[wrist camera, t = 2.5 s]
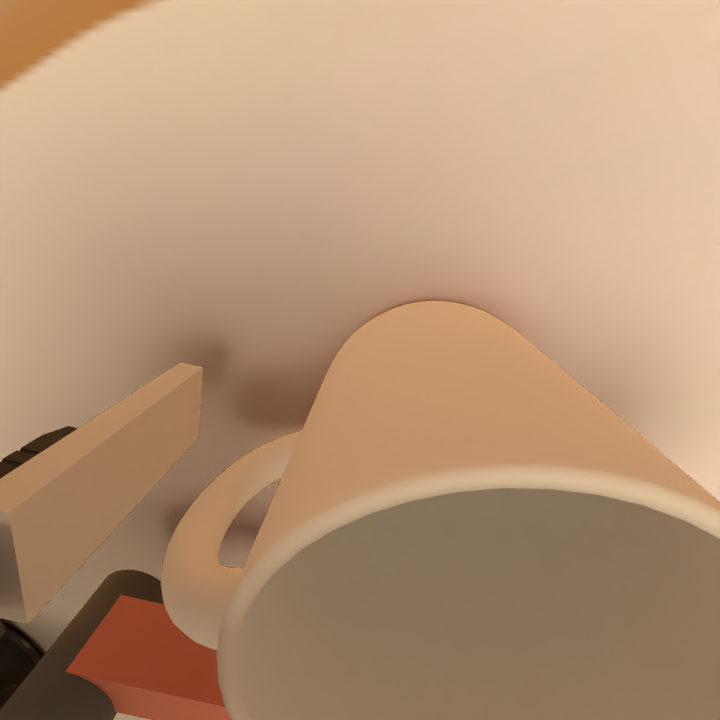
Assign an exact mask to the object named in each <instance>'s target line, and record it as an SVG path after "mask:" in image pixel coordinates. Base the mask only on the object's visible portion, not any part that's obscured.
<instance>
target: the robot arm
mask: <svg viewBox="0 0 720 720" xmlns="http://www.w3.org/2000/svg"><path fill="white" fill-rule="evenodd" d="M202 375H203V367H199V366H195V365H190V364H186V363H182V362H180V363H179V364H177V365H175V366H174V367H172V368H171V369H169V370H168V371H166V372H165V373H163V374H161V375H160V376H158V377H157V378H155V379H154V380H152V381H151V382H149V383H148V384H146V385H144V386H143V387H141V388H140V389H138V390H137V391H135V392H134V393H132V394H131V395H129V396H127V397H126V398H124V399H123V400H121V401H120V402H118V403H117V404H115V405H114V406H112V407H110V408H109V409H107V410H106V411H104V412H103V413H101V414H100V415H98V416H97V417H95V418H93V419H92V420H90V421H89V422H87V423H86V424H84V425H83V426H81V427H79V428H74V427H70V426H67V427H64V428H61V429H59V430H56V431H53V432H50V433H47V434H44V435H42V436H40V437H38V438H37V439H35V440H33V441H32V442H30V443H28V444H27V445H25V446H23V447H22V448H21V450H20V451H15V452H13V453H12V454H10V455H8V456H7V457H5V458H3V460H2V462H0V618H2V619H7V620H11V621H15V622H20V623H24V624H28V623H29V622H30V621H31V620H32V619H33V618H34V617H35V616H36V615H37V614H38V613H39V611H40V610H41V609H42V608H43V607H44V606H45V605H46V604H47V603H48V602H49V601H50V599H51V598H52V597H53V596H54V595H55V594H56V593H57V592H58V591H59V590H60V588H61V587H62V586H63V585H64V584H65V583H66V582H67V581H68V580H69V579H70V578H71V576H72V575H73V574H74V573H75V572H76V571H77V570H78V569H79V568H80V567H81V566H82V564H83V563H84V562H85V561H86V560H87V559H88V558H89V557H90V556H91V555H92V554H93V552H94V551H95V550H96V549H97V548H98V547H99V546H100V545H101V544H102V543H103V542H104V540H105V539H106V538H107V537H108V536H109V535H110V534H111V533H112V532H113V531H114V529H115V528H116V527H117V526H118V525H119V524H120V523H121V522H122V521H123V520H124V519H125V517H126V516H127V515H128V514H129V513H130V512H131V511H132V510H133V509H134V508H135V507H136V505H137V504H138V503H139V502H140V501H141V500H142V499H143V498H144V497H145V496H146V495H147V493H148V492H149V491H150V490H151V489H152V488H153V487H154V486H155V485H156V484H157V483H158V481H159V480H160V479H161V478H162V477H163V476H164V475H165V474H166V473H167V472H168V470H169V469H170V468H171V467H172V466H173V465H174V464H175V463H176V462H177V461H178V460H179V458H180V457H181V456H182V455H183V454H184V453H185V452H186V451H187V450H188V449H189V448H190V446H191V445H192V444H193V443H194V442H195V441H196V440H197V439H198V438H199V426H200V409H201V392H202Z"/></svg>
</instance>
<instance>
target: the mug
mask: <svg viewBox="0 0 720 720" xmlns="http://www.w3.org/2000/svg"><path fill="white" fill-rule="evenodd" d="M279 479H281V481H280V483H279V485H278V488H277V490H276V492H275V495H274V497H273V499H272V502H271V504H270V506H269V509H268V511H267V513H266V516H265V518H264V520H263V523H262V525H261V527H260V530H259V532H258V534H257V537H256V539H255V541H254V544H253V546H252V548H251V551H250V553H249V555H248V558H247V560H246V562H245V565H244V567H243V568H228V567H224V566H222V565H220V564H219V559H218V555H219V549H220V545H221V542H222V540H223V538H224V536H225V533H226V531H227V529H228V528H229V526H230V524H231V523H232V521H233V519H234V518H235V517H236V515H237V514H238V513H239V511H240V510H241V509H242V508H243V507H244V505H245V504H246V503H247V502H248V501H249V500H250V499H251V498H253V497H254V496H255V495H256V494H257V493H258V492H260V491H261V490H263V489H264V488H265V487H267V486H268V485H270V484H272V483H273V482H275V481H277V480H279ZM161 590H162V597H163V601H164V605H165V609H166V611H167V613H168V615H169V616H170V618H171V620H172V622H173V624H175V625H176V626H177V627H178V628H179V629H180V630H181V631H182V632H183V633H185V634H186V635H187V636H188V637H189V638H191V639H192V640H193V641H195V642H197V643H199V644H201V645H204V646H206V647H208V648H210V649H214V650H217V670H218V683H219V686H220V690H221V694H222V698H223V702H224V705H225V707H226V709H227V711H228V714H229V716H230V718H231V720H720V501H718V500H717V499H716V498H715V497H714V496H712V495H711V494H710V493H709V492H708V491H706V490H705V489H704V488H703V487H702V486H700V485H699V484H698V483H697V482H696V481H695V480H693V479H692V478H691V477H690V476H689V475H687V474H686V473H685V472H684V471H683V470H681V469H680V468H679V467H678V466H677V465H675V464H674V463H673V462H672V461H671V460H669V459H668V458H667V457H666V456H665V455H663V454H662V453H661V452H660V451H659V450H658V449H656V448H655V447H654V446H653V445H652V444H650V443H649V442H648V441H647V440H646V439H644V438H643V437H642V436H641V435H640V434H638V433H637V432H636V431H635V430H634V429H632V428H631V427H630V426H629V425H628V424H626V423H625V422H624V421H623V420H622V419H621V418H619V417H618V416H617V415H616V414H615V413H613V412H612V411H611V410H610V409H609V408H607V407H606V406H605V405H604V404H603V403H601V402H600V401H599V400H598V399H597V398H595V397H594V396H593V395H592V394H591V393H590V392H588V391H587V390H586V389H585V388H584V387H582V386H581V385H580V384H579V383H578V382H576V381H575V380H574V379H573V378H572V377H570V376H569V375H568V374H567V373H566V372H564V371H563V370H562V369H561V368H560V367H558V366H557V365H556V364H555V363H554V362H553V361H551V360H550V359H549V358H548V357H547V356H545V355H544V354H543V353H542V352H541V351H539V350H538V349H537V348H536V347H535V346H533V345H532V344H531V343H530V342H529V341H527V340H526V339H525V338H524V337H523V336H521V335H520V334H519V333H518V332H516V331H515V330H514V329H512V328H511V327H510V326H508V325H507V324H506V323H504V322H503V321H501V320H499V319H498V318H496V317H494V316H492V315H490V314H489V313H487V312H485V311H482V310H479V309H477V308H474V307H472V306H468V305H463V304H459V303H454V302H445V301H423V302H416V303H410V304H406V305H403V306H399V307H396V308H393V309H391V310H389V311H386V312H384V313H382V314H380V315H378V316H376V317H375V318H373V319H371V320H370V321H368V322H367V323H366V324H364V325H363V326H362V327H361V328H359V329H358V330H357V331H356V332H355V333H354V334H353V335H352V336H351V337H350V338H349V339H348V340H347V341H346V342H345V343H344V345H343V346H342V348H341V349H340V350H339V352H338V353H337V355H336V356H335V358H334V360H333V362H332V364H331V365H330V367H329V369H328V371H327V373H326V376H325V378H324V380H323V383H322V385H321V387H320V390H319V392H318V394H317V397H316V399H315V401H314V404H313V406H312V408H311V411H310V413H309V415H308V418H307V420H306V422H305V425H304V427H303V429H302V430H301V431H298V432H295V433H291V434H288V435H285V436H283V437H280V438H278V439H275V440H273V441H271V442H269V443H266V444H264V445H262V446H260V447H259V448H257V449H255V450H253V451H251V452H250V453H248V454H247V455H245V456H244V457H242V458H241V459H239V460H238V461H236V462H235V463H234V464H232V465H231V466H230V467H228V468H227V469H226V470H225V471H223V472H222V473H221V474H220V475H219V476H218V477H217V478H216V479H215V480H214V481H212V483H211V484H210V485H209V486H208V487H207V488H206V489H205V490H204V491H203V492H202V493H201V494H200V495H199V497H198V498H197V499H196V500H195V502H194V503H193V504H192V505H191V507H190V508H189V509H188V510H187V512H186V513H185V515H184V516H183V518H182V519H181V521H180V522H179V524H178V525H177V527H176V529H175V531H174V533H173V535H172V537H171V539H170V542H169V545H168V548H167V551H166V554H165V557H164V561H163V566H162V574H161Z"/></svg>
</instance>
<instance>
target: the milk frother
mask: <svg viewBox="0 0 720 720" xmlns="http://www.w3.org/2000/svg"><path fill="white" fill-rule="evenodd" d="M41 659H42V658H41V657H40V655H39V654H38V652H37V651H36V650H35V649H34V648H33V647H32V646H31V645H30V644H29V643H27V641H26V640H25V639H24V638H23V637H21V636H19V635H18V634H16V632H14V631H13V630H12V629H10V628H8V627H6V626H5V625H4V624H3V620H2V618H0V710H1V708H2V707H3V706H4V705H5V703H6V702H7V701H8V700H9V698H10V697H11V696H12V695H13V693H14V692H15V691H16V690H17V688H18V687H19V686H20V685H21V683H22V682H23V681H24V680H25V679H26V677H27V676H28V675H29V674H30V672H31V671H32V670H33V669H34V667H35V666H36V665H37V664H38V662H39V661H40V660H41Z"/></svg>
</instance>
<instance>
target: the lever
mask: <svg viewBox="0 0 720 720" xmlns="http://www.w3.org/2000/svg"><path fill="white" fill-rule="evenodd" d="M117 712H119V713H124V714H129V715H133V716H138V717H142V718H147V719H151V720H231V718H230V716H229V714H228V711H227V709H226V707H225V705H224V702H223V698H222V694H221V690H220V686H219V683H218V670H217V650H214V649H210V648H208V647H206V646H204V645H201V644H199V643H197V642H195V641H193V640H192V639H191V638H189V637H188V636H187V635H186V634H185V633H183V632H182V631H181V630H180V629H179V628H178V627H177V626H176V625H175V624H173V622H172V620H171V618H170V616H169V615H168V613H167V611H166V609H165V605H164V601H163V597H162V590H161V581H160V580H158V579H157V578H155V577H153V576H151V575H149V574H147V573H144V572H140V571H136V570H120V571H116V572H114V573H112V574H110V575H109V576H108V577H107V578H106V579H105V580H104V582H103V583H102V584H101V585H100V586H99V588H98V589H97V590H96V591H95V593H94V594H93V595H92V596H91V598H90V599H89V600H88V601H87V603H86V604H85V605H84V606H83V608H82V609H81V610H80V611H79V613H78V614H77V615H76V616H75V618H74V619H73V620H72V621H71V623H70V624H69V625H68V626H67V628H66V629H65V630H64V631H63V633H62V634H61V635H60V636H59V637H58V639H57V640H56V641H55V642H54V644H53V645H52V646H51V647H50V649H49V650H48V651H47V652H46V654H45V655H44V656H43V657H42V659H41V660H40V661H39V662H38V664H37V665H36V666H35V667H34V669H33V670H32V671H31V672H30V674H29V675H28V676H27V677H26V679H25V680H24V681H23V682H22V683H21V685H20V686H19V687H18V688H17V690H16V691H15V692H14V693H13V695H12V696H11V697H10V698H9V700H8V701H7V702H6V703H5V705H4V706H3V707H2V708H1V710H0V720H113V719H114V717H115V715H116V713H117Z"/></svg>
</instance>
